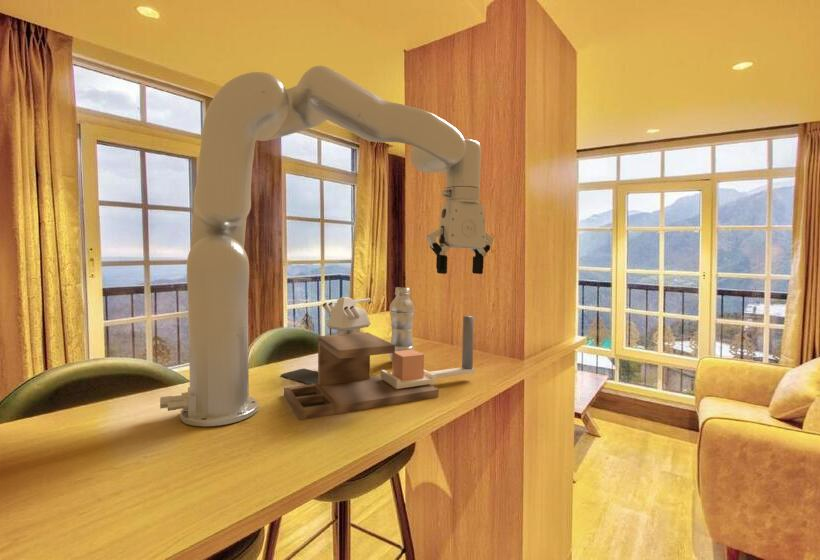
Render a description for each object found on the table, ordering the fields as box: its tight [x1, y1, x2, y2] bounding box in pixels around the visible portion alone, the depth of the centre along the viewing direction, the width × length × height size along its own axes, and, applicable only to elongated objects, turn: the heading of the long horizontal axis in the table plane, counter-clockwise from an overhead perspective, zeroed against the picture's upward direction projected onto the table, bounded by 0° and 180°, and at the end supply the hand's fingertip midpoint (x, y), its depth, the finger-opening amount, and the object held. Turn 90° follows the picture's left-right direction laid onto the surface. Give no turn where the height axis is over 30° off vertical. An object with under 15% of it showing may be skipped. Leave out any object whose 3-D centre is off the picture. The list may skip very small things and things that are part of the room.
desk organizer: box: [283, 332, 440, 421], centre depth 85 cm, size 28×14×12 cm, turn 118°
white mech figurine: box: [321, 296, 372, 335], centre depth 105 cm, size 12×13×18 cm
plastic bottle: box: [389, 286, 415, 362], centre depth 111 cm, size 6×7×20 cm
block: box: [391, 349, 425, 381], centre depth 90 cm, size 5×5×5 cm
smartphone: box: [280, 368, 318, 385], centre depth 96 cm, size 7×1×15 cm
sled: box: [380, 315, 475, 389], centre depth 92 cm, size 21×8×13 cm, turn 118°
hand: (460, 273), depth 95 cm, fingers open, 9 cm apart
